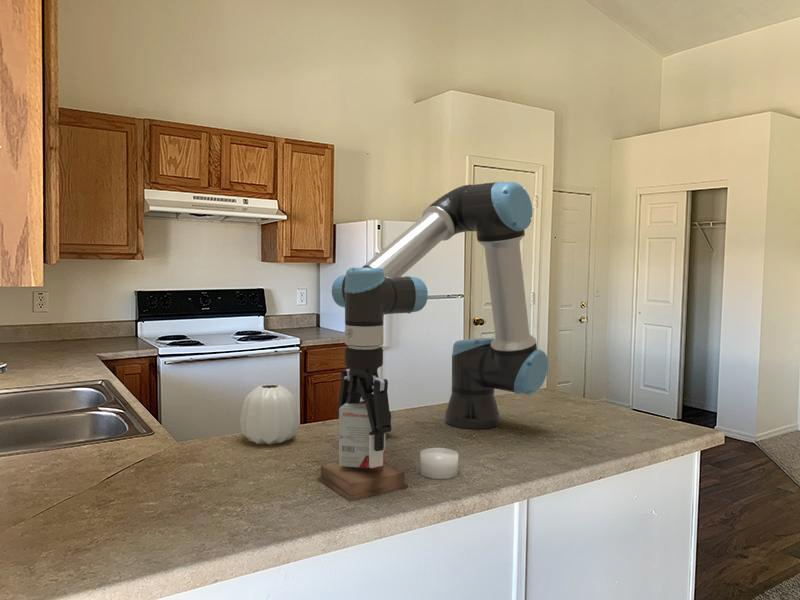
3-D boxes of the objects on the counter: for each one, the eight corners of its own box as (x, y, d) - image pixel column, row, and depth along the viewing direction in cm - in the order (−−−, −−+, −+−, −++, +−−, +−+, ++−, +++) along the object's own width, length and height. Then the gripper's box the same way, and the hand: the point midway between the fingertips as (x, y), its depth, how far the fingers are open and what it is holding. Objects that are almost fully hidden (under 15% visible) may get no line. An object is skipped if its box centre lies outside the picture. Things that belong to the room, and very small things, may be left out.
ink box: (386, 462, 123) (387, 403, 123) (380, 470, 119) (381, 409, 118) (345, 458, 125) (345, 401, 124) (338, 466, 120) (338, 406, 119)
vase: (293, 430, 159) (293, 379, 158) (302, 446, 146) (302, 390, 145) (238, 434, 154) (238, 381, 154) (242, 451, 141) (242, 393, 140)
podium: (372, 468, 131) (372, 454, 131) (407, 487, 120) (408, 472, 120) (317, 479, 124) (317, 465, 123) (350, 501, 113) (350, 485, 113)
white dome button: (441, 463, 135) (442, 445, 135) (465, 474, 128) (466, 455, 128) (412, 470, 130) (412, 451, 130) (435, 481, 124) (436, 462, 123)
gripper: (320, 341, 127) (320, 447, 129) (377, 355, 109) (376, 479, 111) (352, 338, 131) (351, 442, 133) (412, 352, 113) (410, 471, 115)
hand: (362, 459), depth 122 cm, fingers closed on ink box, 9 cm apart
